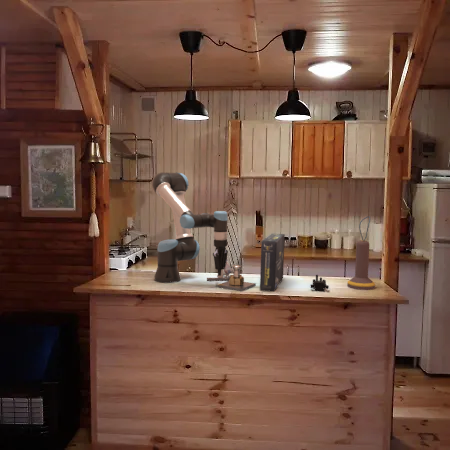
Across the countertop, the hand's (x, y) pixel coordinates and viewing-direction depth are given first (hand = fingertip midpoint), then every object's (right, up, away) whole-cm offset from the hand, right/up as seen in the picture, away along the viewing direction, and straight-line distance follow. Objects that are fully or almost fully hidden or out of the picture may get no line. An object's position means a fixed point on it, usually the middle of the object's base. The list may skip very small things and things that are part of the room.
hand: (220, 280), depth 269 cm
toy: (+56, -4, +5) cm, 57 cm away
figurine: (+3, -1, +26) cm, 27 cm away
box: (+30, -3, +6) cm, 30 cm away
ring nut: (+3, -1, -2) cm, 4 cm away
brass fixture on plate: (+9, -3, -1) cm, 10 cm away
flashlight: (+80, -4, +4) cm, 80 cm away
